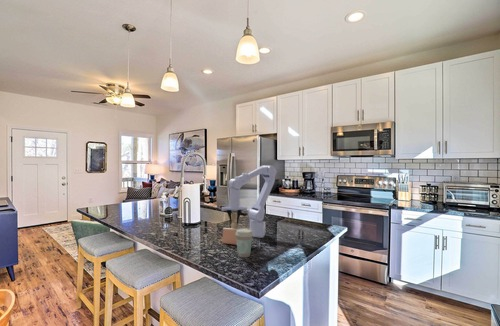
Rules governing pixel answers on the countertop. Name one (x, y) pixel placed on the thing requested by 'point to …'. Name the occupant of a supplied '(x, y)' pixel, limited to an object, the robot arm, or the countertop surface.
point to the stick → (234, 220)
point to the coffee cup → (244, 241)
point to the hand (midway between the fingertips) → (234, 223)
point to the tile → (229, 236)
